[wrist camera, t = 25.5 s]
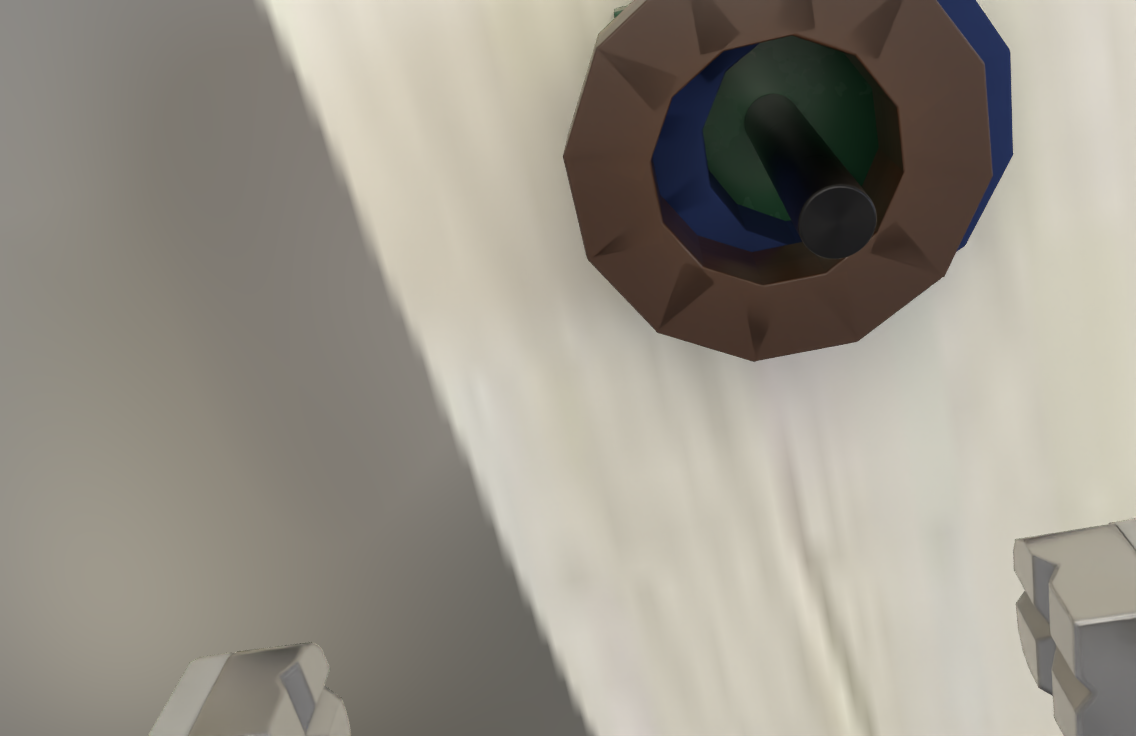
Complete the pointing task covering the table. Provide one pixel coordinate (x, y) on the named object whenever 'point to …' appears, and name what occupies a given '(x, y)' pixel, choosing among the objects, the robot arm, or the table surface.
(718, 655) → the table surface
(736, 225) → the navy ring
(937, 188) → the walnut ring
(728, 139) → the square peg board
